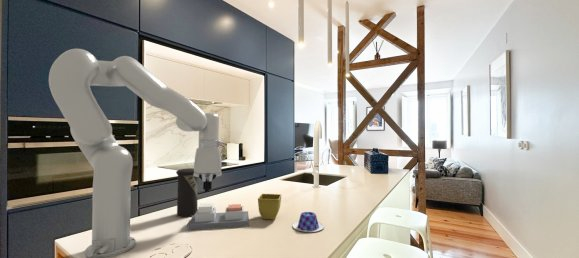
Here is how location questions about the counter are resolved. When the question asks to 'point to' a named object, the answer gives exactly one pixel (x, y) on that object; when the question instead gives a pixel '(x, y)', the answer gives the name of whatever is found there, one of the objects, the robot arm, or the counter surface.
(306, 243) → the counter surface
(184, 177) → the container
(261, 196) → the flower pot
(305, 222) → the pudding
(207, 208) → the white key
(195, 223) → the push button panel
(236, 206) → the brick key
